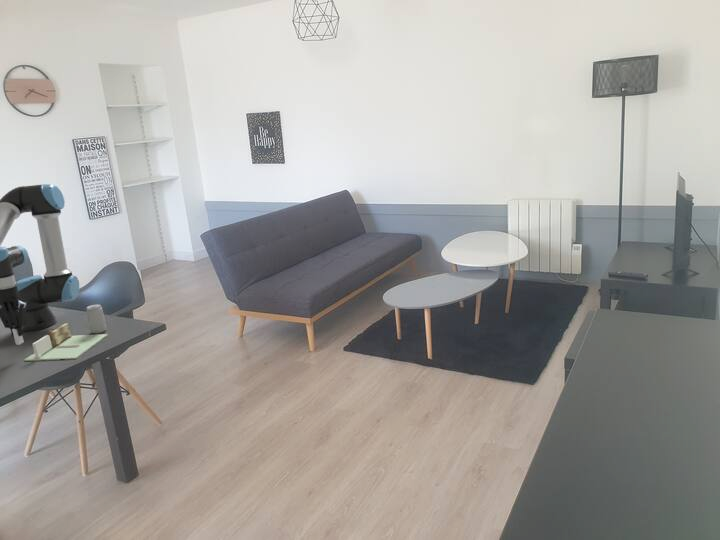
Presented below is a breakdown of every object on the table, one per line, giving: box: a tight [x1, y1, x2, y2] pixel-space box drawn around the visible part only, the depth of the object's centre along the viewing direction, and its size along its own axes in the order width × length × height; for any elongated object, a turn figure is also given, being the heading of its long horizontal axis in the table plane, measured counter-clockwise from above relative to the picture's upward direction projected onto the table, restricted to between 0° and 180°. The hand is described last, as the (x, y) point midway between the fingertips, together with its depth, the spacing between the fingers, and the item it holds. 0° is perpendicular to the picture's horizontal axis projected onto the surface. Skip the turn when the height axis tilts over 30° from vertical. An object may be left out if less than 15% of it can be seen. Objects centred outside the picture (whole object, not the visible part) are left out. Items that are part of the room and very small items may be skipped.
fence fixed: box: [47, 322, 73, 348], centre depth 235 cm, size 12×2×8 cm, turn 175°
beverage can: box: [85, 303, 107, 335], centre depth 245 cm, size 6×6×12 cm
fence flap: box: [32, 334, 52, 358], centre depth 225 cm, size 9×2×6 cm, turn 175°
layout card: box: [23, 333, 109, 362], centre depth 231 cm, size 24×22×1 cm
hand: (20, 343), depth 222 cm, fingers closed
